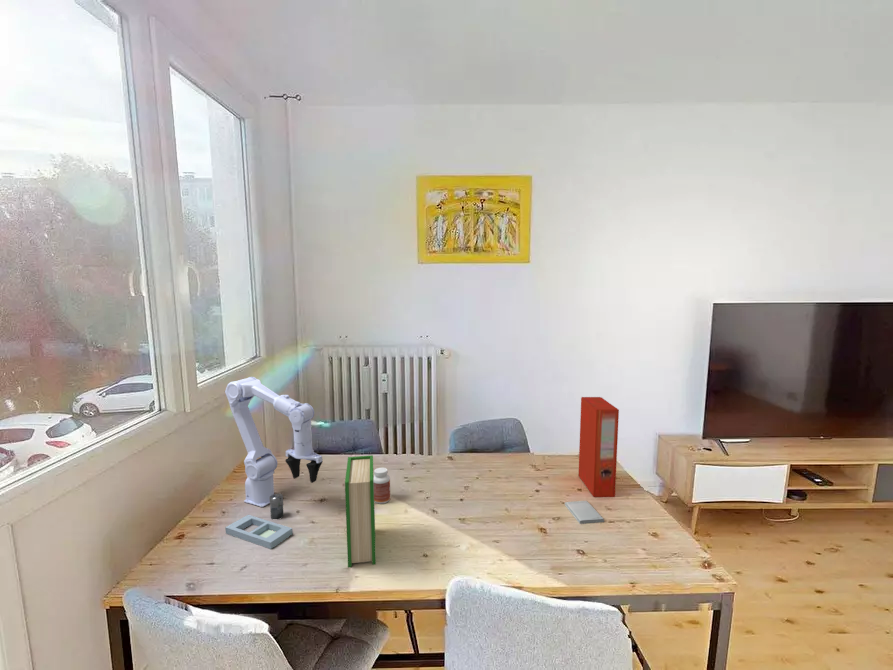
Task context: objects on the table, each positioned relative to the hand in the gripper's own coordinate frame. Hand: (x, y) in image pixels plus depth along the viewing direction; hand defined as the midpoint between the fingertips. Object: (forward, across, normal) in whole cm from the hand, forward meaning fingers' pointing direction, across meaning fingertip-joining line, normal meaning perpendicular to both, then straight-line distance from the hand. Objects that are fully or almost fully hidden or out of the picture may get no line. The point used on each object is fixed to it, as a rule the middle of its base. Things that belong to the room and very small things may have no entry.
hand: (304, 479), depth 150 cm
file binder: (+11, -87, -59) cm, 106 cm away
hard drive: (+11, -86, -37) cm, 94 cm away
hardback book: (+11, -31, +10) cm, 34 cm away
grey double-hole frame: (+10, +2, +18) cm, 21 cm away
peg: (+10, +5, +8) cm, 14 cm away
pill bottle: (+11, -20, -16) cm, 28 cm away
